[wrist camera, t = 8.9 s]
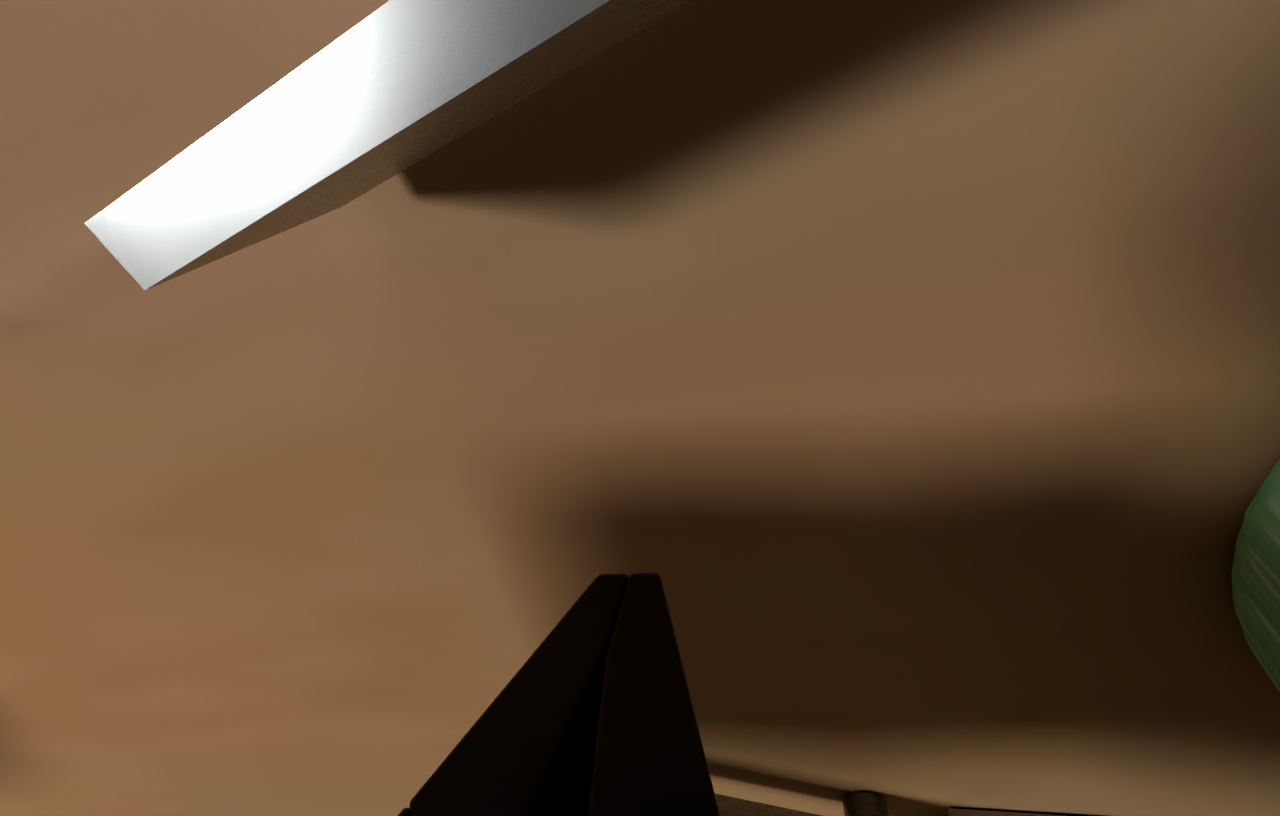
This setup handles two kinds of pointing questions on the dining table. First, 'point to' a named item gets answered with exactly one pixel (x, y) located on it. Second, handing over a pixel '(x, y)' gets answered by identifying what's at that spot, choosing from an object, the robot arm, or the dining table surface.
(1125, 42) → the dining table surface
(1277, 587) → the ramekin
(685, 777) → the robot arm
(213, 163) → the bar
